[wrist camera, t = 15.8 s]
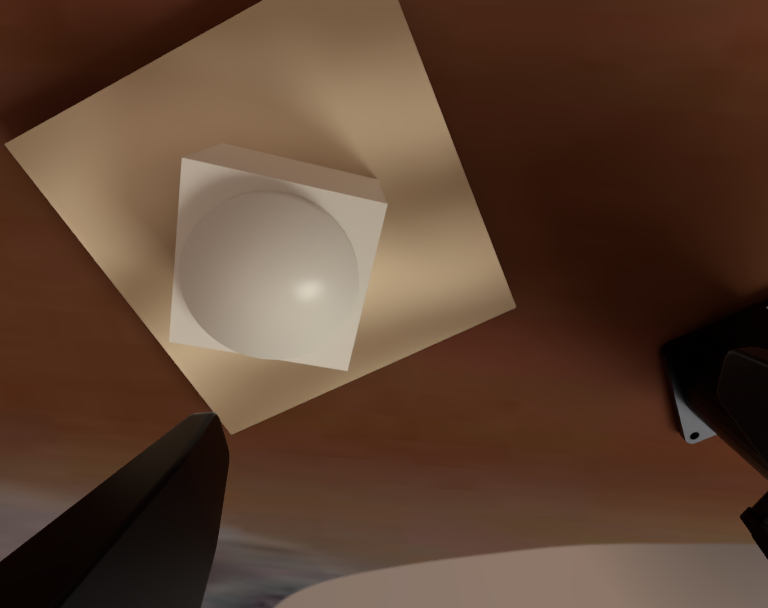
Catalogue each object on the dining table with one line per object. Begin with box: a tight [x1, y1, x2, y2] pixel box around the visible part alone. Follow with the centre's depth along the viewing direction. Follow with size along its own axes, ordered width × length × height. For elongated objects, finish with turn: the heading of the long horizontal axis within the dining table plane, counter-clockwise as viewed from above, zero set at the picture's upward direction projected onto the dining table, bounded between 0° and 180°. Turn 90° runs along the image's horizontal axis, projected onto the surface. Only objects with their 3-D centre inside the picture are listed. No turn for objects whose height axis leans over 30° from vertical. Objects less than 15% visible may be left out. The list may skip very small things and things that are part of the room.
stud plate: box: [4, 0, 516, 435], centre depth 17 cm, size 14×14×4 cm
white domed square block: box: [169, 143, 388, 371], centre depth 16 cm, size 6×6×5 cm
